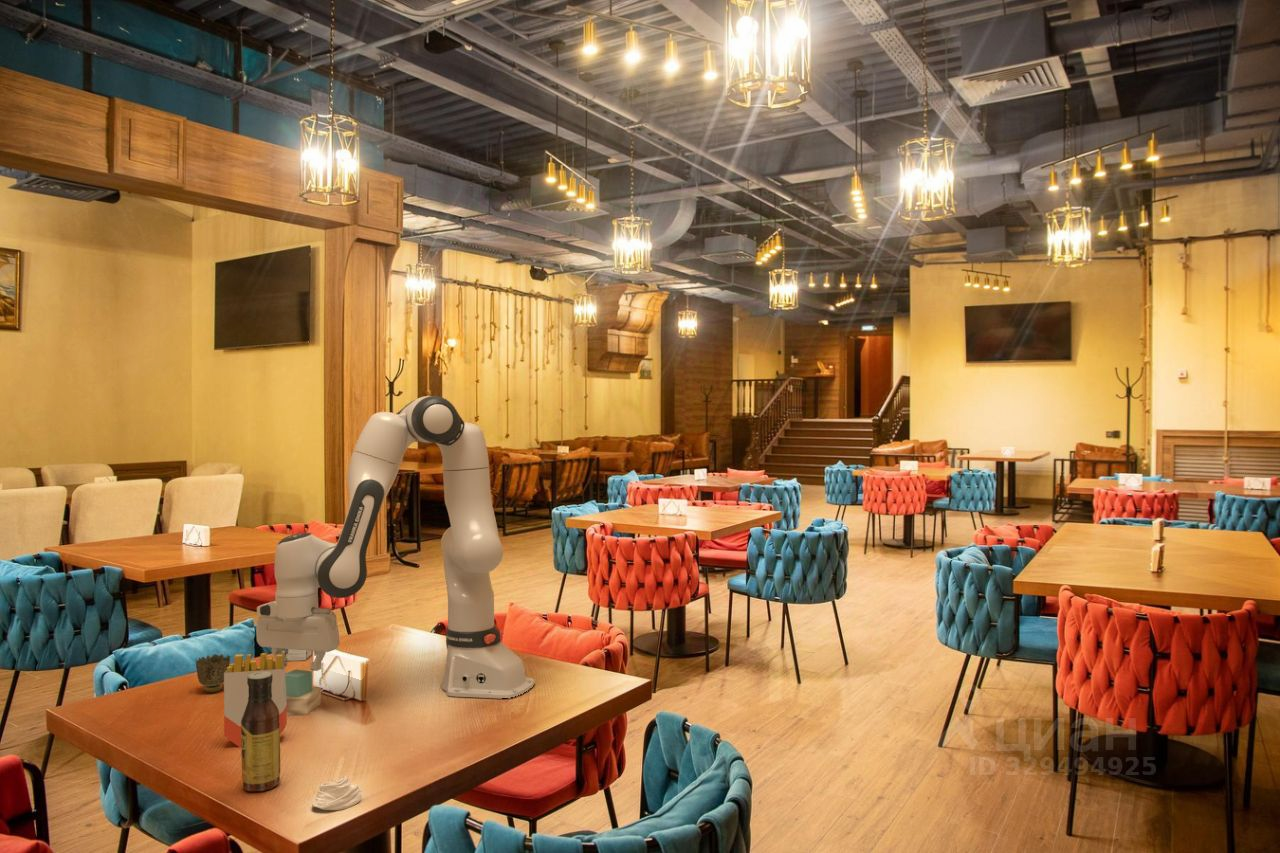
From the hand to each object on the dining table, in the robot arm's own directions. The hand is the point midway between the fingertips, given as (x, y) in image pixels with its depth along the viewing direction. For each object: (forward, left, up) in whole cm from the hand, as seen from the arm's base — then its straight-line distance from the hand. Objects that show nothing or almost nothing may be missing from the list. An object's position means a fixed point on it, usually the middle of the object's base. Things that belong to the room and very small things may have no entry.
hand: (298, 668), depth 191 cm
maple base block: (0, 0, -10) cm, 10 cm away
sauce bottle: (-23, +35, -9) cm, 43 cm away
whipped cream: (-39, +37, -10) cm, 55 cm away
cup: (+28, -4, -9) cm, 30 cm away
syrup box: (+29, -34, -9) cm, 46 cm away
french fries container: (-6, +19, -9) cm, 22 cm away
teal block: (0, 0, -5) cm, 5 cm away
